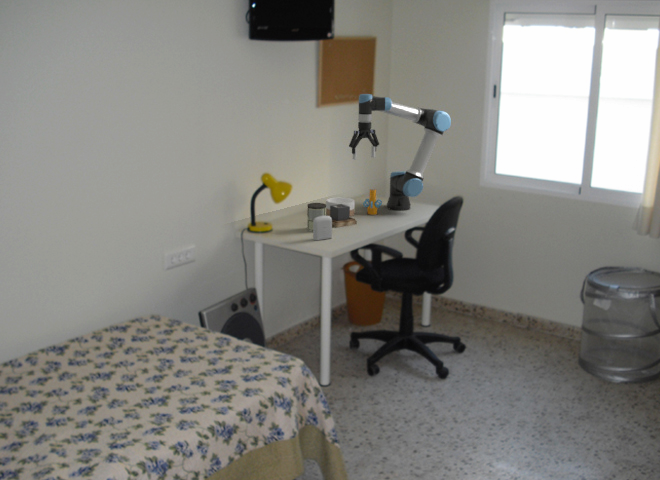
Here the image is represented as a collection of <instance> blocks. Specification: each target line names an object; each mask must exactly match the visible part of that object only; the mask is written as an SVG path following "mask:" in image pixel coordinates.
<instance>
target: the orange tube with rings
mask: <svg viewBox="0 0 660 480" xmlns="http://www.w3.org/2000/svg"><path fill="white" fill-rule="evenodd" d="M368 196H369V198H366V199H365V200H364V201H363V204H362V205H363V207H364V208H367V211H366V213H367V215H370V216H374V215H375V216H376V215H378V209H379V208H380V207H381V205H382V204H383V201H382V200H381V199H377V189H376V188H370V189H369V194H368Z"/></svg>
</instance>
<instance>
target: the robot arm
mask: <svg viewBox="0 0 660 480" xmlns="http://www.w3.org/2000/svg"><path fill="white" fill-rule="evenodd" d="M375 111H377V112H381V113H383V114H388V115H391V116H395V117H399V118H402V119H406V120H409V121H412V123H413V124H417V125H419V126H422V127H424V128H423V130H424V135H423V137H422V139H421V141H420V144H419V146H418V148H417V151H416V153H415V155H414V158H413V160H412V163H411V165H410V167H409V169H408V170H405V171H404V170H403V171H392V172H391V173H390V176H389V177H390V178H389V179H390V180H389V197H388V200H387V202H386V209H389V210H393V211H407V210H411V207H412V205H411V201H410V197H411V198H413V197H414V198H415V197H418V196H419V195H420V194H422V192H423V190H424V183H423V181H424V172H425V170H426V168H427V166H428V163H429V161H430V158H431V156H432V154H433V152H434V149H435V146H436V144H437V142H438V140H439V138H441V137H442V136H443V135H444V133H445V132H446V131H448V130H449V129H450V127H451V124H452V123H451V122H452V119H451V116H450V114H449V113H447V112H446V111H443V110H439V109H438V110H437V109H431V108H430V109H429V108H421V107H420V106H419V107H418V106H417V107H416V108H415V107H412V106H409V105H405V104H402V103H398V102H394V101H392V99H391V98H390V97H387V96H384V97H383V96H374V95H373V94H372V93H371V94H370V93H361V94H359V96H358V119H357V120H358V123H357V124H358V125H357V129H358V130H353V135H352V137H351V139H350V142H349V145H348V147H349V148H351V153H352V160H355V161H356V160H357V159H358V158H357V157H358V156H357V155H358V154H357V153H358V148H357V147H358V145H359V143H360V142H361V140H363V139H368V141H369V142H370V143H371V145H372V146H371V148H370V149H371V152H370V153H371V156H370V157H371V158H372V159H374V158H376V152H377V147H379V146H380V142H379V138H378V137H377V133H376V129H372V116H373V115H372V114H373V113H372V112H375Z"/></svg>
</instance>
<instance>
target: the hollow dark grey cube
mask: <svg viewBox="0 0 660 480" xmlns="http://www.w3.org/2000/svg"><path fill="white" fill-rule="evenodd" d="M337 206H342V207H337ZM330 217H331V219H332V220H335V221H343V220H349V219H350V217H351V216H350V207H349V206H346V205H343V204H338V205H331V206H330Z"/></svg>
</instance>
